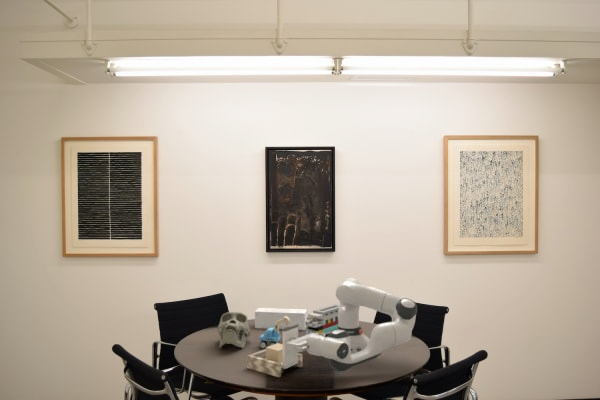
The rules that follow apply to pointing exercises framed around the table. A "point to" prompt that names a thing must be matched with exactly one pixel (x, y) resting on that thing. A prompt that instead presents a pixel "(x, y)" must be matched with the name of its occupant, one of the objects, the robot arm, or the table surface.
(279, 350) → the trolley
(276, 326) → the toy excavator
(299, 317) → the long white block
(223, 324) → the skull
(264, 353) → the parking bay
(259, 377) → the table surface
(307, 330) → the toy vehicle
